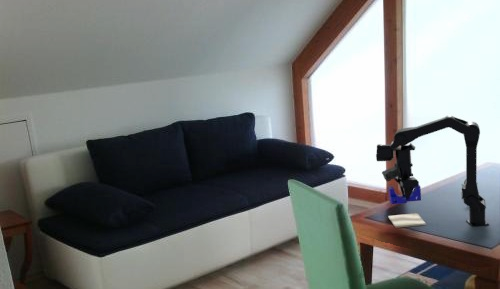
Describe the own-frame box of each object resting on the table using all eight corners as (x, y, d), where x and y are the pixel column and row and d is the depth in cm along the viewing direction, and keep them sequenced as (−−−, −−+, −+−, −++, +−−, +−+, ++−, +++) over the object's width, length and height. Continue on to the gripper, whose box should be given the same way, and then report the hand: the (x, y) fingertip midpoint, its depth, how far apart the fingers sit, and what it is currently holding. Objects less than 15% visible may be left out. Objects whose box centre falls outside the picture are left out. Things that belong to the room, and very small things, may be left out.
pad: (425, 224, 204) (425, 223, 204) (395, 227, 204) (395, 226, 204) (417, 214, 216) (416, 213, 215) (388, 217, 216) (388, 215, 216)
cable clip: (391, 204, 206) (390, 190, 205) (389, 200, 211) (388, 186, 210) (422, 201, 205) (421, 187, 204) (419, 198, 210) (418, 184, 209)
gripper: (378, 157, 214) (380, 193, 217) (388, 168, 196) (391, 207, 199) (404, 154, 214) (406, 190, 217) (418, 165, 195) (420, 204, 199)
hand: (405, 197), depth 208 cm, fingers closed on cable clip, 4 cm apart
